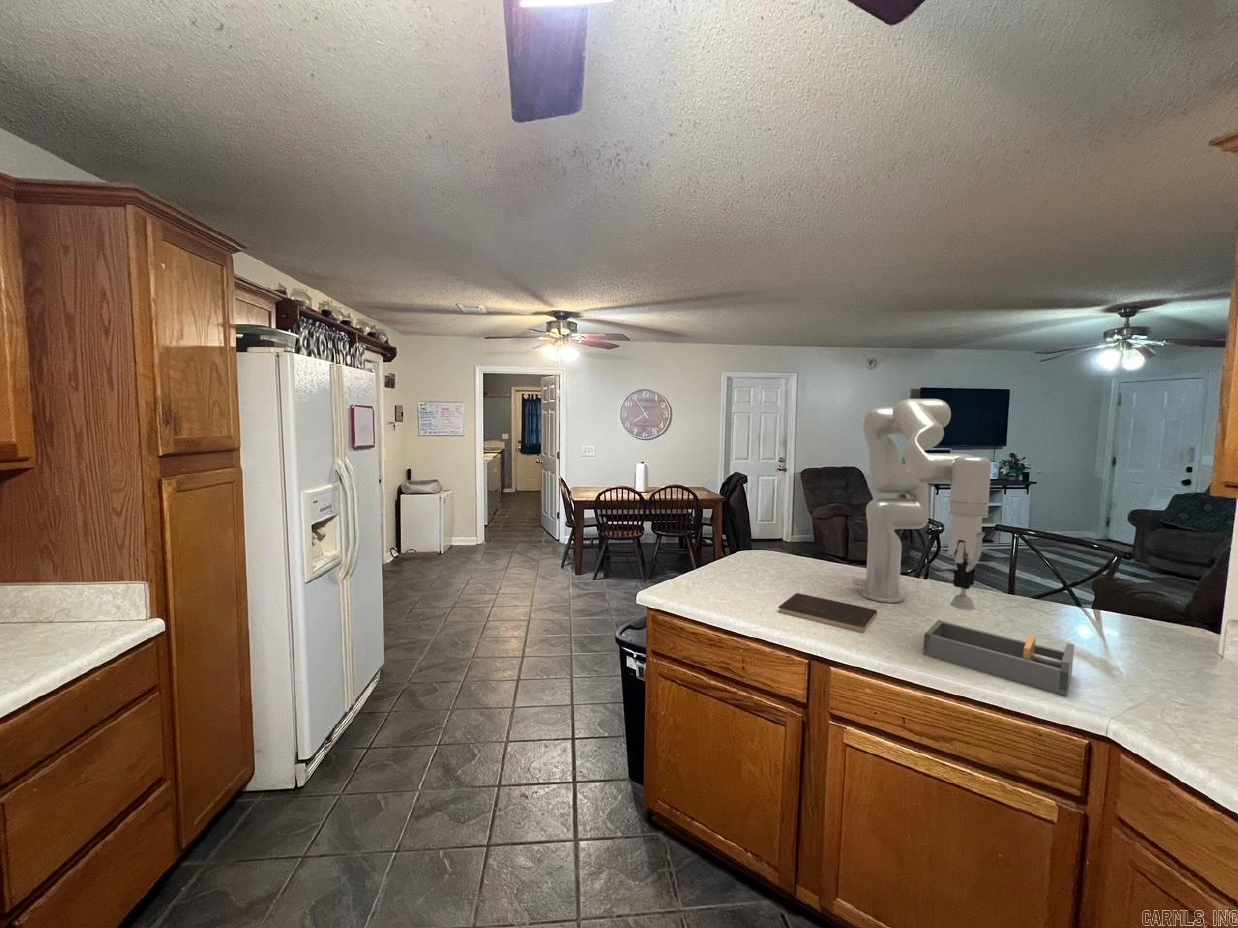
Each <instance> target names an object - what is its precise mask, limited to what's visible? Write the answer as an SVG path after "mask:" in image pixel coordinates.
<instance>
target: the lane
mask: <svg viewBox="0 0 1238 928" xmlns="http://www.w3.org/2000/svg"><path fill="white" fill-rule="evenodd" d="M923 634H924V635H923V647H922V654H923V655H925V656H928V657H930V658H935V659H938V660H941V661H945V662H948V663H951V664H955V665H959V666H961V667H966V668H967V669H972V670H975V671H979V672H981V673H985V674H988V675H989V674H990V675H992V676H995V677H999V678H1003V679H1006V680H1010V681H1011V682H1012V681H1013V682H1016V683H1020V684H1023V685H1027V686H1030V687H1032V688H1036V689H1039V690H1040V689H1041V690H1044V691H1047V692H1049V693H1054V694H1058V695H1061V696H1064V697H1067V696H1068V691H1069V688H1070V683H1071V679H1072V675H1073V664H1074V651H1075V644H1074V643H1073V644H1072V643H1069V642H1067V643H1066V646H1065V648H1064V650H1061V649H1056V648H1053V647H1048V646H1044V645H1040V644H1036V643H1035V649H1034V654H1038V655H1042V656H1045V657H1049V658H1053V659H1057V660H1061V661H1062V662H1061V666H1058V665H1054V664H1050V663H1046V662H1043V661H1039V660H1035V659H1034V661H1030V660H1026V659H1023V652H1024V646H1025V644H1026V642H1027V641H1023V640H1021V639H1015V638H1013V637H1008V636H1003V635H999V634H995V633H991V632H988V631H983V630H980V629H976V628H971V627H967V626H964V625H959V624H956V623H951V622H947V621H943V620H939V619H937V620H936V622H934V624H933V625H932V626H931V627H930V628H929V629H928V630H927V631H926V632H925V633H923Z"/></svg>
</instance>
